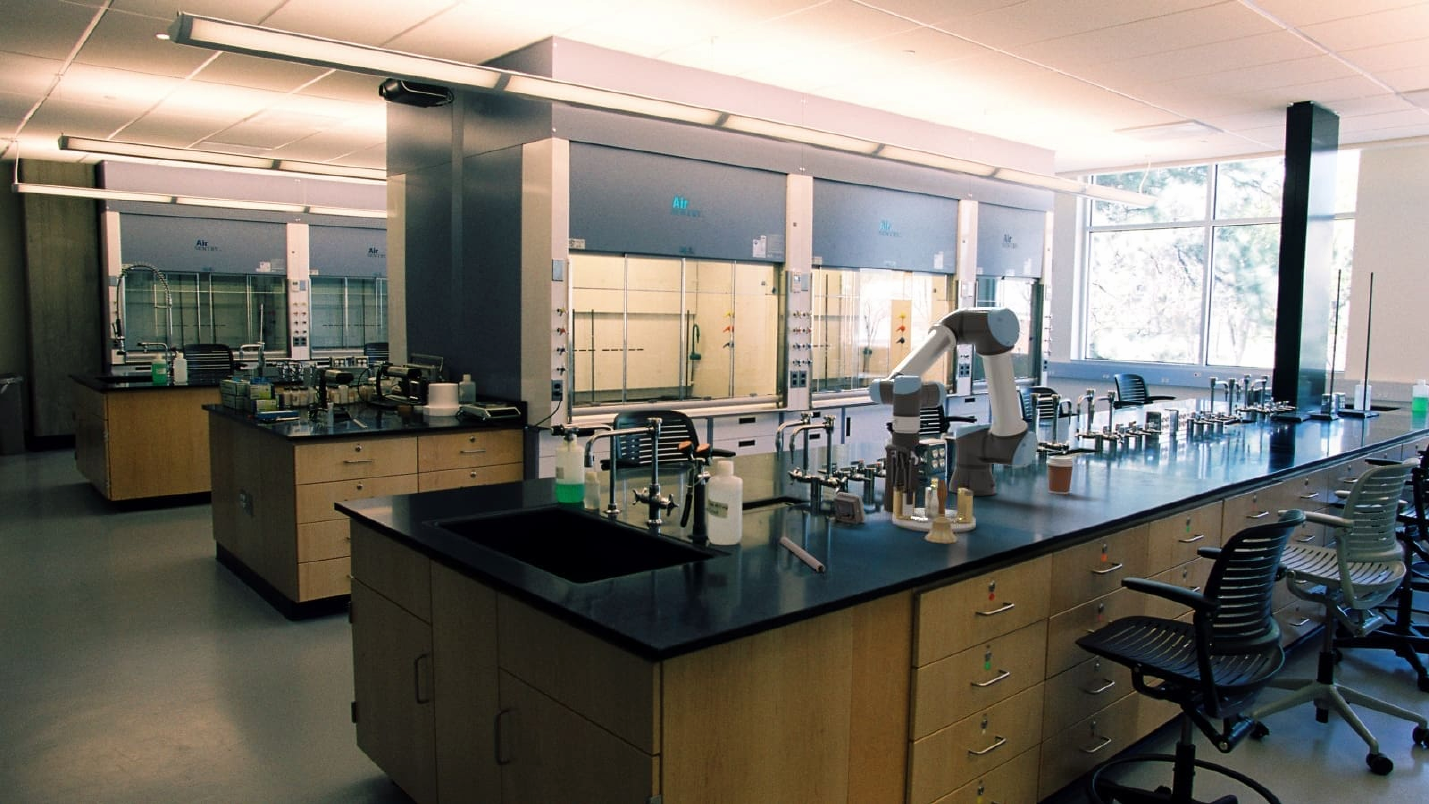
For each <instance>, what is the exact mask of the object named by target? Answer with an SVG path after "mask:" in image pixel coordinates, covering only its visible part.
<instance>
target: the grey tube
mask: <svg viewBox="0 0 1429 804" xmlns="http://www.w3.org/2000/svg"><path fill="white" fill-rule="evenodd" d="M779 540H780V543H781V544H782V545H783V546H784V547H786V548H787V549H788V550H790V551H791V552H792V553H793V552H794V553H793V554H794V555H795V556H797V557H798V558H800V559H801V560H803V561H804V562H805V563H806V564H807V565H808V566H810V567H811V568H813V569H814V570H815V569H816V570H815V571H816V572H818V571H821V570H823V571H822V572H825V570H826V567H825V565H824V564H823V563H821V562H820V561H819V560H817V559H816V558H814V556H812V555H811V554H810V553H808V552H807V551H805V550H804V549H803V548H801V547H800V546H799V545H797V544H796V543H795V542H793V540H790V538H788V537H787V536H783V537H780V539H779ZM819 569H821V570H819Z"/></svg>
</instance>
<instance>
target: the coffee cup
mask: <svg viewBox="0 0 1429 804" xmlns="http://www.w3.org/2000/svg"><path fill="white" fill-rule="evenodd" d="M1045 464H1046V465H1047V470H1048V492H1049V493H1050V494H1055V495H1070V491H1071V490H1070V489H1071V483H1072V475H1073V467H1075V466H1076V463H1075V462H1074V461H1073V458H1072V457H1071V456H1064V455H1052V456H1049V459H1047V460H1046V461H1045Z"/></svg>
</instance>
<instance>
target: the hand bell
mask: <svg viewBox="0 0 1429 804" xmlns="http://www.w3.org/2000/svg"><path fill="white" fill-rule="evenodd" d="M947 496H948V487H947V484H946V480H945V479H943V478H942V479H939V480H938V488H937V497H938V501H939V512H938V513H939V516H938V517H937V518H934V519H933V524H932V528H931V530H930V532H928V534H926V535H925V537H924V540H926V541H927V542H931V543H933V544H945V545H946V544H954V543H957V542H958V538H957V536H955V534H954V533H953V532H952V529H951V522H950V520H949V519H948V518H946V517H945V509H946V500H947Z"/></svg>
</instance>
